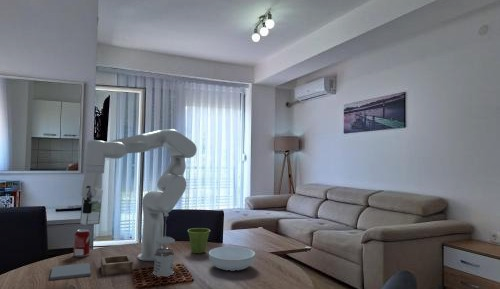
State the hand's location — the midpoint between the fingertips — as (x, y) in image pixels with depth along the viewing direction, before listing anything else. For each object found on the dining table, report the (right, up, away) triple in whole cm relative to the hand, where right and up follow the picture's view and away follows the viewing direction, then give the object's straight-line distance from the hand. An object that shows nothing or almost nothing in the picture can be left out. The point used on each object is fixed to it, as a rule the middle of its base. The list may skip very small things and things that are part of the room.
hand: (90, 211), depth 139 cm
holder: (+9, -25, +3) cm, 27 cm away
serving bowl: (+58, -28, +11) cm, 65 cm away
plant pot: (+39, -28, +34) cm, 59 cm away
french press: (+30, -26, 0) cm, 40 cm away
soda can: (-14, -25, +20) cm, 35 cm away
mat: (-7, -24, -3) cm, 25 cm away
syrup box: (0, -5, 0) cm, 5 cm away
